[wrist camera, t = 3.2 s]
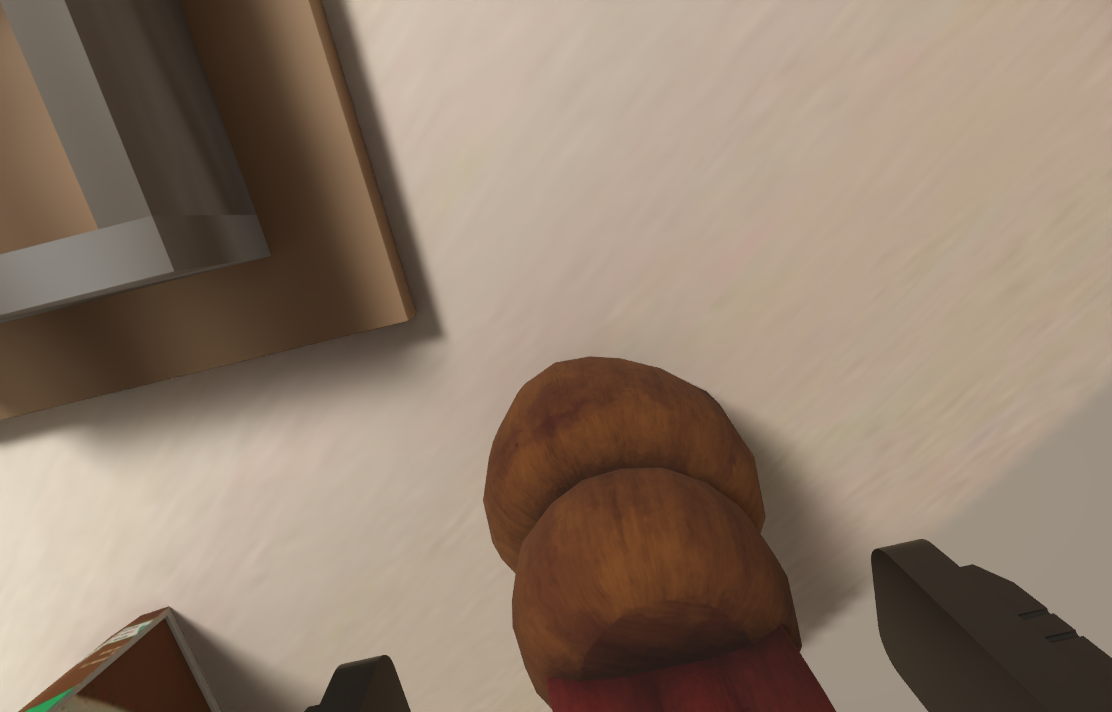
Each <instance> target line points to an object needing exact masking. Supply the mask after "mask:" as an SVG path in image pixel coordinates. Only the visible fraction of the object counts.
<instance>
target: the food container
mask: <svg viewBox="0 0 1112 712" xmlns="http://www.w3.org/2000/svg"><path fill="white" fill-rule="evenodd" d="M19 712H221V710H220V708H219V706H218V704H217V702H216V700H215V698H214V696H213V694H212V692H211V690H210V688H209V686H208V684H207V682H206V680H205V678H204V676H203V674H202V672H201V670H200V668H199V666H198V664H197V662H196V660H195V658H194V655H193V653H192V651H191V649H190V647H189V645H188V643H187V641H186V639H185V637H184V635H183V633H182V631H181V629H180V627H179V625H178V623H177V621H176V619H175V617H174V615H173V613H172V611H171V609H170V607H166V608H163V609H160V610H157V611H154V612H151V613H148V614H145V615H142V616H140V617H138V618H137V619H136V620H134V621H133V622H131V623H130V624H128V625H127V626H126V627H124V628H123V629H121V630H120V631H118V632H117V633H116V634H114V635H113V636H111V637H110V638H109V639H108V640H106V641H105V642H104V643H103V644H101V645H100V646H99V647H98V648H96V649H95V650H94V651H93V652H91V653H90V654H89V655H88V656H87V657H85V658H84V659H83V660H82V661H80V662H79V663H78V664H77V665H75V666H74V667H73V668H72V669H70V670H69V671H68V672H67V673H66V674H64V675H63V676H62V677H61V678H59V679H58V680H57V681H56V682H54V683H53V684H52V685H51V686H50V687H48V688H47V689H46V690H45V691H43V692H42V693H41V694H40V695H38V696H37V697H36V698H35V699H33V700H32V701H31V702H30V703H29V704H27V705H26V706H25V707H24V708H22V709H21V710H20V711H19Z"/></svg>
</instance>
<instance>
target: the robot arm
mask: <svg viewBox="0 0 1112 712" xmlns="http://www.w3.org/2000/svg"><path fill="white" fill-rule="evenodd" d="M871 564H872V573H873V582H874V591H875V600H876V609H877V617H878V627H879V632H880V637H881V640H882V643H883V645H884V648H885V650H886V653H887V655H888V657H889V659H890V661H891V663H892V664H893V666H894V668H895V669H896V671H897V672H898V673H899V675H900V676H901V677H902V679H903V680H904V681H905V682H906V684H907V685H908V686H909V688H910V689H911V690H912V691H913V693H914V694H915V695H916V696H917V698H918V699H919V700H920V701H921V703H922V704H923V705H924V706H925V708H926V709H927V710H928V712H1112V658H1111V657H1110V656H1108V655H1107V654H1106V653H1105V652H1103V651H1102V650H1101V649H1099V648H1098V647H1097V646H1095V645H1094V644H1093V643H1092V642H1090V641H1089V640H1088V639H1086V638H1085V637H1084V636H1081V637H1079V636H1078V634H1077V633H1076V630H1075V629H1073V628H1072V627H1071V626H1069V625H1068V624H1067V623H1066V622H1064V621H1063V620H1062V619H1060V618H1059V617H1058V616H1057V615H1055V614H1050V613H1049V612H1048V610H1047V608H1046V607H1045V606H1044V605H1042V604H1041V603H1040V602H1038V601H1037V600H1036V599H1034V598H1033V597H1032V596H1031V595H1029V594H1028V593H1027V592H1025V591H1024V590H1023V589H1022V588H1020V587H1019V586H1018V585H1016V584H1015V583H1014V582H1011V581H1009V580H1007V579H1005V578H1002V577H1000V576H998V575H996V574H993V573H991V572H989V571H987V570H984V569H982V568H980V567H978V566H975V565H973V564H972V565H968V566H963V567H959V566H958V565H957V564H955V562H953V561H952V560H951V559H950V558H949V557H947V556H946V555H945V554H944V553H943V552H941V551H940V550H939V549H938V548H937V547H935V546H934V545H933V544H932V543H930V542H929V541H927V540H924V539H919V540H914V541H910V542H905V543H900V544H896V545H891V546H887V547H882V548H878V549H875V550H873V552H872V555H871ZM304 712H411V711H410V708H409V705H408V703H407V700H406V697H405V694H404V692H403V689H402V686H401V683H400V680H399V678H398V675H397V672H396V669H395V667H394V664H393V662H392V660H391V659H390V657H389V656H387V655H382V656H377V657H373V658H368V659H363V660H359V661H354V662H350V663H345V664H342V665H340V666H338V668H337V669H336V670H335V672H334V674H333V676H332V678H331V681H330V683H329V685H328V687H327V689H326V692H325V694H324V696H323V698H322V700H321V703H320V704H319V705H315V706H310V707H308V708H307V709H306V710H305V711H304Z"/></svg>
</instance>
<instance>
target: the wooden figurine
mask: <svg viewBox="0 0 1112 712" xmlns="http://www.w3.org/2000/svg"><path fill="white" fill-rule="evenodd" d="M483 502H484V506H485V511H486V515H487V520H488V524H489V529H490V533H491V538H492V542H493V544H494V546H495V548H496V550H497V551H498V553H499V555H500V557H501V558H502V560H503V561H504V562H505V563H506V564H507V565H508V566H509V567H510V568H511V569H512V570H513V571H514V572H515V574H516V576H515V583H514V590H513V598H512V618H513V629H514V632H515V635H516V639H517V642H518V645H519V648H520V652H521V655H522V658H523V662H524V665H525V668H526V670H527V672H528V675H529V677H530V679H531V681H532V684H533V686H534V688H535V690H536V693H537V694H538V695H539V696H540V697H541V698H542V699H543V700H544V701H545V702H546V703H547V704H548V705H549V707H550V708H551V709H552V710H553V712H836V711H835V709H834V707H833V706H832V704H831V702H830V700H829V699H828V697H827V695H826V694H825V692H824V690H823V689H822V687H821V685H820V684H819V682H818V681H817V679H816V678H815V676H814V674H813V673H812V671H811V670H810V668H809V666H808V665H807V663H806V662H805V660H804V658H803V657H802V655H801V654H800V650H801V647H802V644H801V638H800V633H799V628H798V623H797V618H796V614H795V609H794V605H793V600H792V596H791V591H790V586H789V582H788V577H787V575H786V574H785V572H784V570H783V569H782V567H781V565H780V563H779V562H778V560H777V558H776V556H775V555H774V553H773V552H772V550H771V549H770V547H769V546H768V544H767V543H766V542H765V540H764V539H763V537H762V536H761V534H760V533H761V530H762V527H763V524H764V520H765V512H764V506H763V501H762V496H761V491H760V486H759V480H758V475H757V470H756V465H755V460H754V456H753V454H752V453H751V451H750V450H749V449H748V447H747V446H746V444H745V443H744V441H743V440H742V438H741V437H740V435H739V434H738V432H737V431H736V429H735V427H734V426H733V424H732V423H731V421H730V420H729V418H728V417H727V415H726V413H725V412H724V410H723V409H722V407H721V406H720V404H719V403H718V402H717V401H716V400H715V399H714V398H713V397H712V396H711V395H710V394H709V393H708V392H707V391H705V390H703V389H700V388H698V387H696V386H694V385H692V384H690V383H688V382H686V381H684V380H682V379H680V378H678V377H676V376H674V375H672V374H670V373H668V372H667V371H665V370H663V369H661V368H657V367H652V366H648V365H644V364H640V363H636V362H632V361H628V360H624V359H619V358H604V357H585V358H579V359H573V360H568V361H562V362H556V363H554V364H553V365H551V366H550V367H548V368H547V369H545V370H544V371H543V372H541V373H540V374H538V375H537V376H536V377H534V378H533V379H531V380H530V381H528V382H527V383H526V384H524V386H523V387H522V388H521V389H520V391H519V392H518V393H517V395H516V397H515V399H514V401H513V403H512V405H511V407H510V408H509V410H508V412H507V414H506V416H505V418H504V420H503V422H502V423H501V425H500V427H499V429H498V432H497V434H496V436H495V439H494V441H493V444H492V448H491V452H490V456H489V462H488V469H487V476H486V484H485V491H484V498H483Z"/></svg>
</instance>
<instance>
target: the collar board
mask: <svg viewBox="0 0 1112 712" xmlns="http://www.w3.org/2000/svg"><path fill="white" fill-rule="evenodd" d="M416 314H417V313H416V310H415V307H414V304H413V300H412V297H411V294H410V291H409V287H408V284H407V281H406V277H405V274H404V271H403V268H402V264H401V261H400V258H399V255H398V251H397V248H396V245H395V242H394V238H393V235H392V232H391V228H390V225H389V222H388V219H387V215H386V212H385V209H384V206H383V202H382V199H381V196H380V192H379V189H378V186H377V183H376V179H375V176H374V173H373V170H372V166H371V163H370V160H369V157H368V153H367V150H366V147H365V143H364V140H363V137H362V134H361V130H360V127H359V124H358V121H357V117H356V114H355V111H354V107H353V104H352V101H351V98H350V94H349V91H348V88H347V85H346V81H345V78H344V75H343V72H342V68H341V65H340V62H339V58H338V55H337V52H336V49H335V45H334V42H333V39H332V36H331V32H330V29H329V26H328V23H327V19H326V16H325V13H324V9H323V6H322V3H321V0H0V420H2V419H6V418H10V417H15V416H19V415H23V414H27V413H31V412H35V411H39V410H43V409H47V408H52V407H56V406H60V405H64V404H68V403H72V402H76V401H80V400H84V399H89V398H93V397H97V396H101V395H105V394H109V393H113V392H117V391H121V390H126V389H130V388H134V387H138V386H142V385H146V384H150V383H154V382H158V381H163V380H167V379H171V378H175V377H179V376H183V375H187V374H191V373H195V372H200V371H204V370H208V369H212V368H216V367H220V366H224V365H228V364H232V363H237V362H241V361H245V360H249V359H253V358H257V357H261V356H265V355H269V354H274V353H278V352H282V351H286V350H290V349H294V348H298V347H302V346H306V345H311V344H315V343H319V342H323V341H327V340H331V339H335V338H339V337H343V336H348V335H352V334H356V333H360V332H364V331H368V330H372V329H376V328H380V327H385V326H389V325H393V324H397V323H401V322H405V321H408V320H410V319H411V318H412V317H413V316H415V315H416Z"/></svg>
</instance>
